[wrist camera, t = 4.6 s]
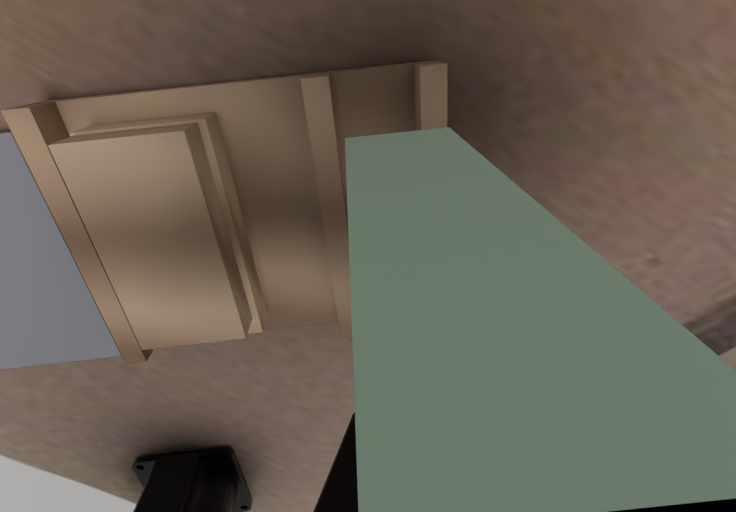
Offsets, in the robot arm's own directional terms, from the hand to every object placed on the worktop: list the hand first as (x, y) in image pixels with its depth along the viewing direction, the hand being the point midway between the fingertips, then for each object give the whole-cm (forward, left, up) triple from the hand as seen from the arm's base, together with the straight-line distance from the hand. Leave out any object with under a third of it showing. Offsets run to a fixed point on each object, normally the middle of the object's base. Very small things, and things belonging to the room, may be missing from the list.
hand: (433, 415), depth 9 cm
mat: (-1, +18, -13) cm, 22 cm away
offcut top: (0, +9, -10) cm, 14 cm away
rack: (0, +5, -13) cm, 14 cm away
